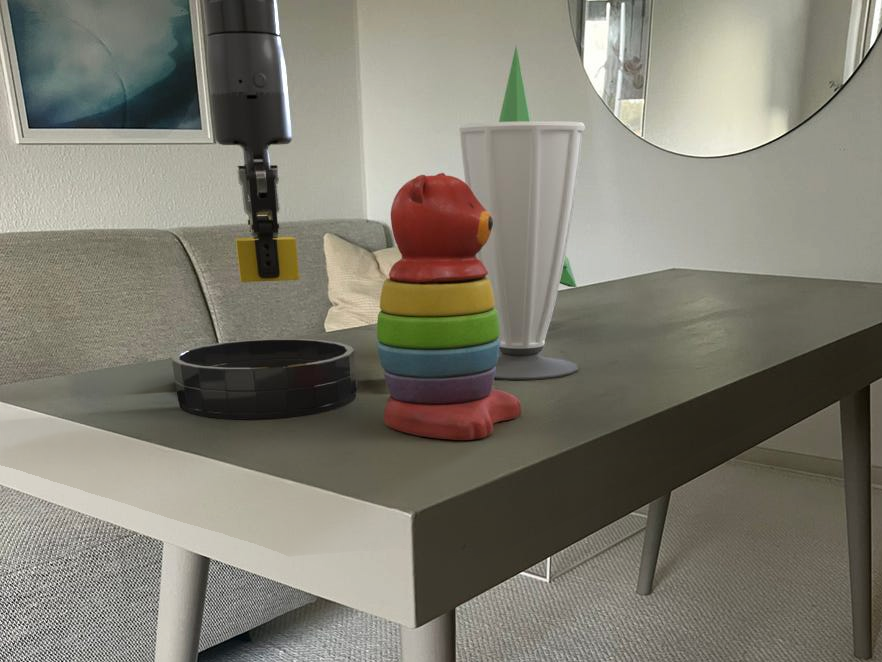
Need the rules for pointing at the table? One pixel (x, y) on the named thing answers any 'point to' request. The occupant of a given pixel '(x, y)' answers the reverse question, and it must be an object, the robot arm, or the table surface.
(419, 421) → the stacking bear
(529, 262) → the cup
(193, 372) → the bowl
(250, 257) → the sponge
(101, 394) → the table surface
